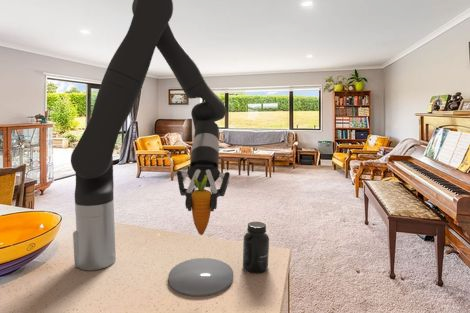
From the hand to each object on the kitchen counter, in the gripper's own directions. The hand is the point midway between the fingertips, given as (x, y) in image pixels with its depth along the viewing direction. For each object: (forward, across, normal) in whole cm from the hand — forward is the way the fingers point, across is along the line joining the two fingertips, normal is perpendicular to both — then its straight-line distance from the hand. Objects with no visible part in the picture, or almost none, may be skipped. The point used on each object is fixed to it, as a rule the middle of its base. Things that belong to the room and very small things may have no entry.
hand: (200, 209), depth 68 cm
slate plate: (+12, 0, +14) cm, 18 cm away
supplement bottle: (+8, +14, +17) cm, 24 cm away
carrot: (+4, 0, +6) cm, 8 cm away
